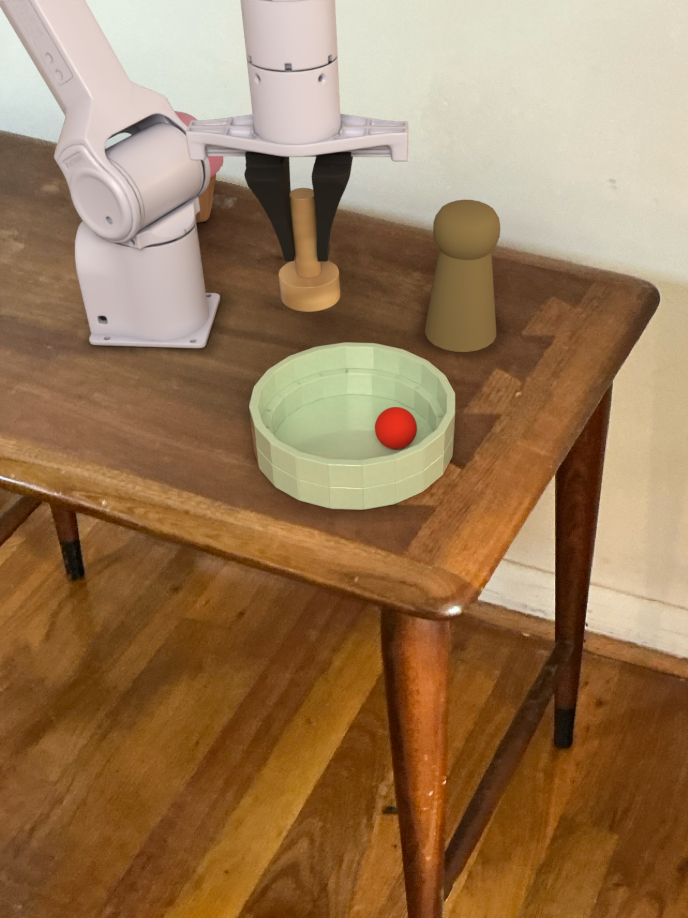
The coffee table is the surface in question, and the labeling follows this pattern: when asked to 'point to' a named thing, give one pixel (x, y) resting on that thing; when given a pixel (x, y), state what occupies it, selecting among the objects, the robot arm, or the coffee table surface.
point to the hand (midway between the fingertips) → (307, 254)
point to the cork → (463, 277)
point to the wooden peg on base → (307, 261)
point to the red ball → (395, 428)
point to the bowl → (350, 425)
